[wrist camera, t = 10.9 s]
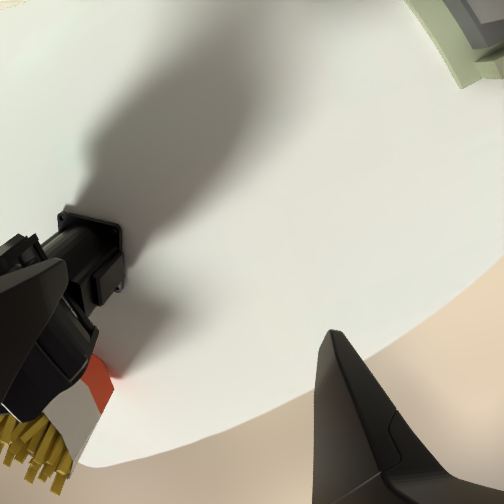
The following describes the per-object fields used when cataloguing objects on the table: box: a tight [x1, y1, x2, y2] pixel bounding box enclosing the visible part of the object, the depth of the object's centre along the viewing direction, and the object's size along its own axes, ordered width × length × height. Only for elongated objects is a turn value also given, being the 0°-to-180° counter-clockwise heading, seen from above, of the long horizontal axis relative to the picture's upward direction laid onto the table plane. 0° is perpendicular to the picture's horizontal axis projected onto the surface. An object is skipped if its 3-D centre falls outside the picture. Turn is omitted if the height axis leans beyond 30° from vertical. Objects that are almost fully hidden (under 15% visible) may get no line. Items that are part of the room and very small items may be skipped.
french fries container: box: [0, 354, 114, 495], centre depth 24 cm, size 5×11×18 cm, turn 53°
